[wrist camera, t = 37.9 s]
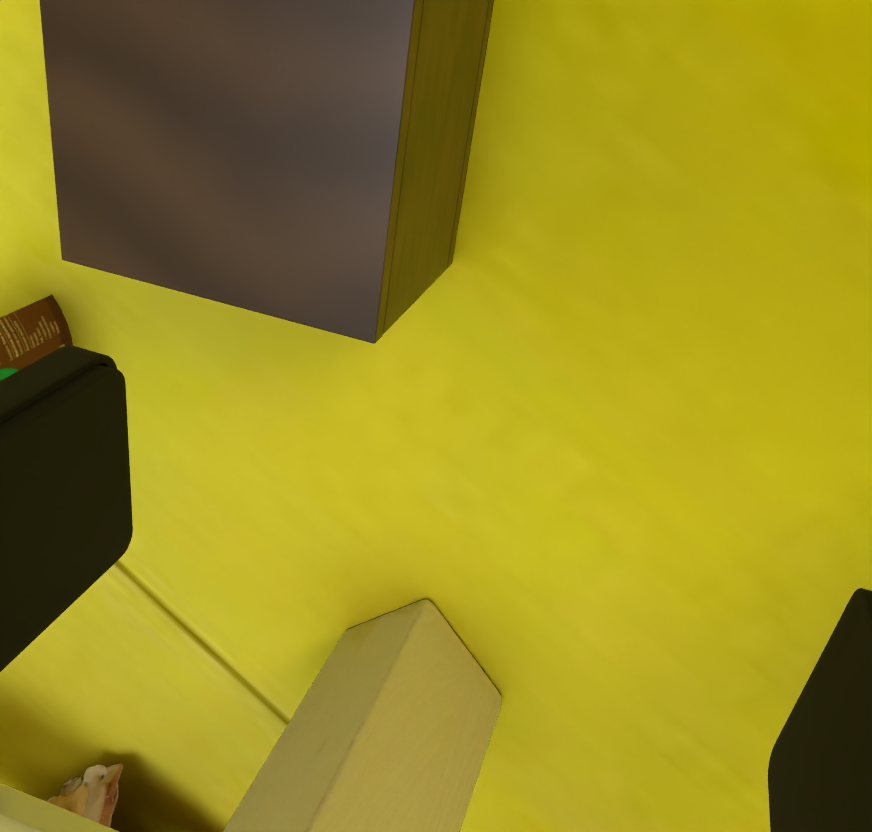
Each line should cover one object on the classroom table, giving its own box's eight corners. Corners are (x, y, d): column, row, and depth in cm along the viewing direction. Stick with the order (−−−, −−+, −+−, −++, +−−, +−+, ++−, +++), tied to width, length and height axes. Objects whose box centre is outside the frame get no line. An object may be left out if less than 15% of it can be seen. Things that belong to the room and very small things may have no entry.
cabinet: (198, -140, 32) (23, -181, 24) (509, -92, 30) (428, -119, 22) (198, 202, 39) (61, 260, 31) (452, 264, 37) (374, 344, 29)
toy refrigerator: (332, 630, 49) (110, 995, 32) (426, 592, 46) (237, 980, 28) (408, 726, 51) (239, 1123, 33) (505, 697, 48) (373, 1123, 30)
